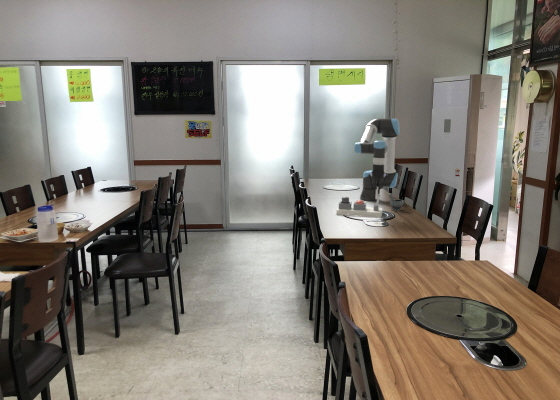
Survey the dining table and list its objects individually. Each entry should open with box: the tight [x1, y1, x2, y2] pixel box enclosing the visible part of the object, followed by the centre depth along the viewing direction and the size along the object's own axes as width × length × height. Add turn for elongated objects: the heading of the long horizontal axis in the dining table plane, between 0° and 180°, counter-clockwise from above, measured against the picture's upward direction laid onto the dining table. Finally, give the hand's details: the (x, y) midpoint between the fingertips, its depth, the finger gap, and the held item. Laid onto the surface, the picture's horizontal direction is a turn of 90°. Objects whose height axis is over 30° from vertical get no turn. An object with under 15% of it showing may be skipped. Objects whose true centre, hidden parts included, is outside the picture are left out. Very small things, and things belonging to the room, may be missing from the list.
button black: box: [341, 196, 350, 204], centre depth 313 cm, size 5×5×5 cm
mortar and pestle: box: [387, 192, 405, 212], centre depth 323 cm, size 11×9×12 cm
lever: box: [375, 194, 381, 206], centre depth 308 cm, size 4×1×10 cm, turn 166°
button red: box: [355, 199, 365, 204], centre depth 311 cm, size 5×5×5 cm
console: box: [335, 200, 383, 218], centre depth 311 cm, size 16×30×7 cm, turn 76°
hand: (376, 198), depth 307 cm, fingers closed
